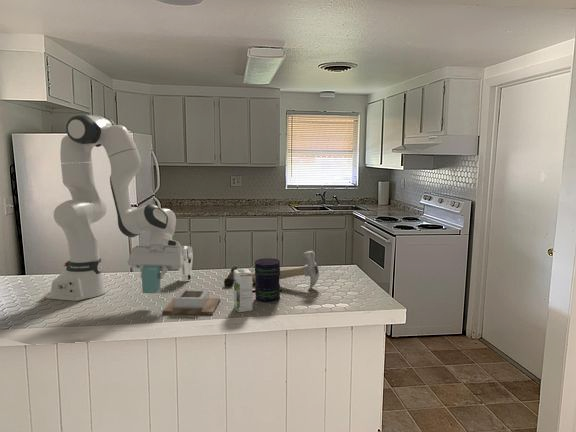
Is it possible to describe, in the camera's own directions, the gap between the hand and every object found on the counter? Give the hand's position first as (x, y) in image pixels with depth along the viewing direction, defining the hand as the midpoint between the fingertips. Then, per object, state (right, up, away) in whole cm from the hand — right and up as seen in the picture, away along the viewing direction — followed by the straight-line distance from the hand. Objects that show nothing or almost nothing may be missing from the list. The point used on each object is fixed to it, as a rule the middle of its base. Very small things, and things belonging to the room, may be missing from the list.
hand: (151, 277), depth 163 cm
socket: (+15, -10, 0) cm, 18 cm away
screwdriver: (+33, -6, +38) cm, 51 cm away
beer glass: (+5, -6, +35) cm, 36 cm away
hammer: (+49, -7, +25) cm, 55 cm away
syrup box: (+34, -11, -2) cm, 36 cm away
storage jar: (+43, -10, +10) cm, 45 cm away
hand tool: (+25, -6, +34) cm, 43 cm away
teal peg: (0, -5, 0) cm, 5 cm away
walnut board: (+15, -11, 0) cm, 19 cm away
